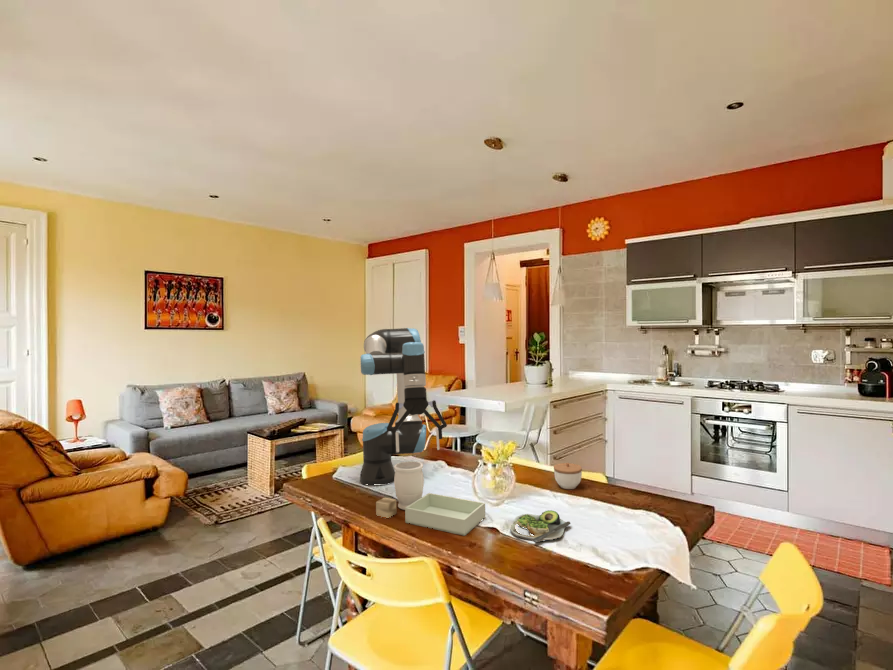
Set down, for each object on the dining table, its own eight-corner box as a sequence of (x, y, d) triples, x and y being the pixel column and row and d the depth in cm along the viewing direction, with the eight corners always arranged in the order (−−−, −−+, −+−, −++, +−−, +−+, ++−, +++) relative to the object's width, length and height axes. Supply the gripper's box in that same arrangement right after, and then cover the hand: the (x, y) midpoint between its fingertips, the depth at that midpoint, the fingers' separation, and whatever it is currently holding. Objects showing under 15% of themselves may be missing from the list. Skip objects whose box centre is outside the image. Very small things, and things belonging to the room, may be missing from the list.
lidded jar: (585, 484, 195) (585, 461, 194) (577, 493, 186) (576, 468, 185) (559, 480, 201) (559, 457, 200) (550, 488, 192) (549, 464, 191)
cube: (385, 511, 174) (384, 497, 173) (396, 513, 171) (396, 499, 171) (376, 516, 169) (375, 502, 169) (388, 519, 167) (387, 504, 167)
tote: (429, 506, 176) (428, 492, 176) (485, 517, 165) (485, 503, 165) (405, 522, 163) (405, 507, 163) (464, 535, 152) (464, 519, 152)
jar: (426, 500, 182) (425, 460, 181) (422, 512, 172) (420, 469, 171) (398, 500, 183) (396, 460, 182) (392, 511, 173) (391, 469, 172)
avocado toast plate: (563, 551, 141) (563, 535, 141) (503, 542, 148) (502, 527, 148) (572, 524, 159) (572, 510, 159) (518, 517, 166) (518, 503, 166)
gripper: (377, 388, 164) (379, 453, 160) (451, 384, 164) (455, 449, 161) (380, 390, 171) (382, 452, 168) (451, 385, 172) (455, 447, 168)
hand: (418, 450), depth 164 cm, fingers open, 13 cm apart
